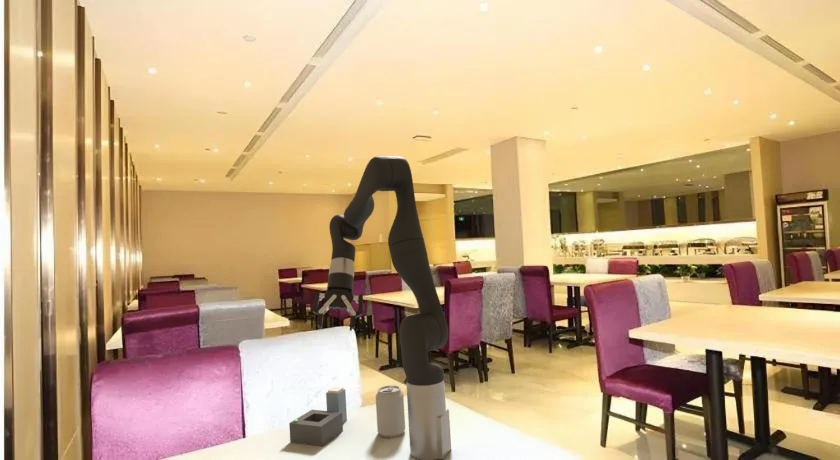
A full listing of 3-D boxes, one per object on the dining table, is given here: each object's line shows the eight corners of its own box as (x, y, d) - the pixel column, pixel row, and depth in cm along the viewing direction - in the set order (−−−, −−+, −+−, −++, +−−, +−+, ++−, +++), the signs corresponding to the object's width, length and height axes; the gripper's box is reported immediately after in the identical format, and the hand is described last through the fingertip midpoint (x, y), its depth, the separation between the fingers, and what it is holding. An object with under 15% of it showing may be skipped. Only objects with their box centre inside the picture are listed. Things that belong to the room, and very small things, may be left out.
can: (372, 436, 121) (369, 391, 121) (387, 425, 127) (384, 382, 128) (396, 440, 117) (393, 393, 118) (410, 429, 124) (408, 385, 124)
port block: (342, 430, 126) (341, 411, 126) (322, 446, 117) (321, 424, 117) (312, 427, 130) (311, 408, 130) (290, 442, 120) (289, 421, 120)
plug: (346, 420, 133) (345, 387, 134) (339, 425, 130) (337, 391, 130) (335, 419, 135) (333, 386, 135) (327, 424, 131) (325, 390, 132)
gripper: (316, 269, 132) (309, 324, 125) (365, 273, 134) (361, 327, 127) (317, 278, 139) (310, 331, 132) (364, 282, 141) (360, 333, 133)
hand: (335, 329), depth 129 cm, fingers open, 8 cm apart
